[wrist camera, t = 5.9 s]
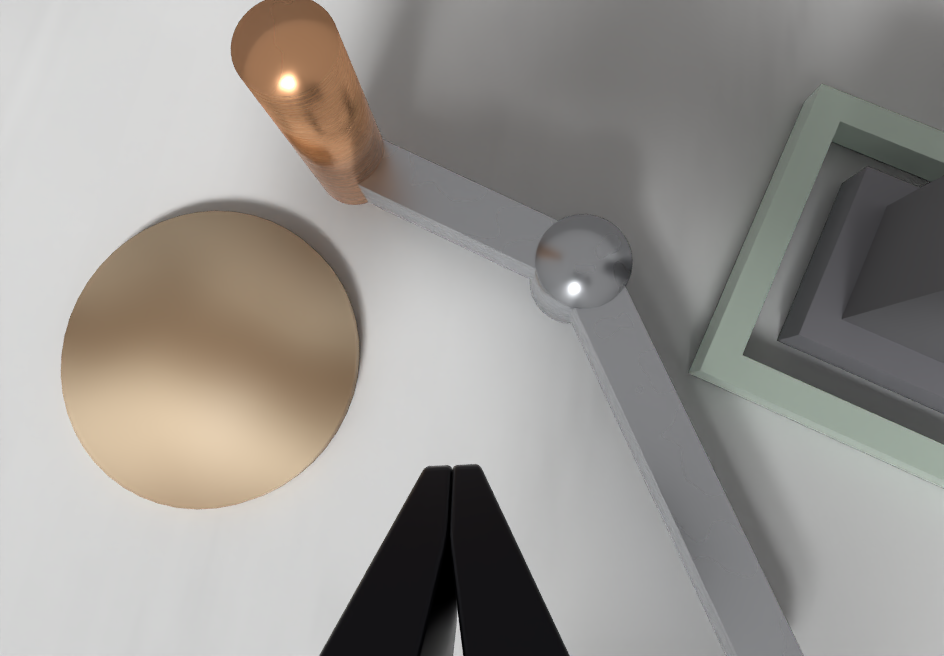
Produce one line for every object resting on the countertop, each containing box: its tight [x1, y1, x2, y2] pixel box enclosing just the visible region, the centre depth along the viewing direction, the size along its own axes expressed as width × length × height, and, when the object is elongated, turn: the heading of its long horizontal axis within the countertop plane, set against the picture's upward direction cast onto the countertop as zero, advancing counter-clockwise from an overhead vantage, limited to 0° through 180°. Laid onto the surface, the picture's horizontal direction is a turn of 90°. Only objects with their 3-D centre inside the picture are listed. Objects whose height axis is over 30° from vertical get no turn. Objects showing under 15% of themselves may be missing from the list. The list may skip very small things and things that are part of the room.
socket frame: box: [689, 84, 944, 488], centre depth 20 cm, size 10×10×1 cm
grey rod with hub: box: [231, 0, 804, 656], centre depth 17 cm, size 21×8×8 cm, turn 23°
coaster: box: [61, 211, 360, 509], centre depth 21 cm, size 10×10×1 cm
